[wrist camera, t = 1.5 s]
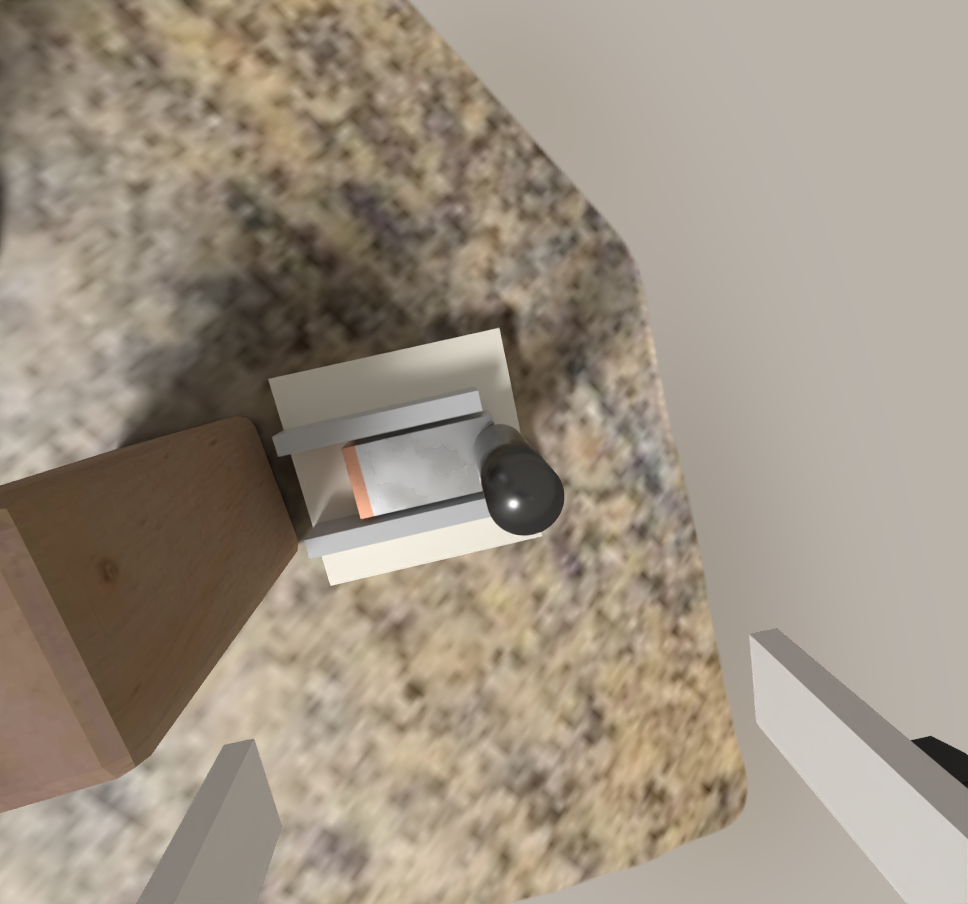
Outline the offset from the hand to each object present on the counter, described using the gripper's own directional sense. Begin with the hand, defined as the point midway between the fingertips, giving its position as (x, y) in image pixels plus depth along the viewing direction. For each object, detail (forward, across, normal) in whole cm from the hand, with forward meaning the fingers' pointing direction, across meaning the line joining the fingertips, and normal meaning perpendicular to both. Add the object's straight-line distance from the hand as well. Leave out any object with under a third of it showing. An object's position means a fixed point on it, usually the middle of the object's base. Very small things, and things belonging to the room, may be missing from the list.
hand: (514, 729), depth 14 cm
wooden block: (+23, -17, +3) cm, 29 cm away
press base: (+23, -3, +3) cm, 24 cm away
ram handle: (+21, -2, +3) cm, 21 cm away
